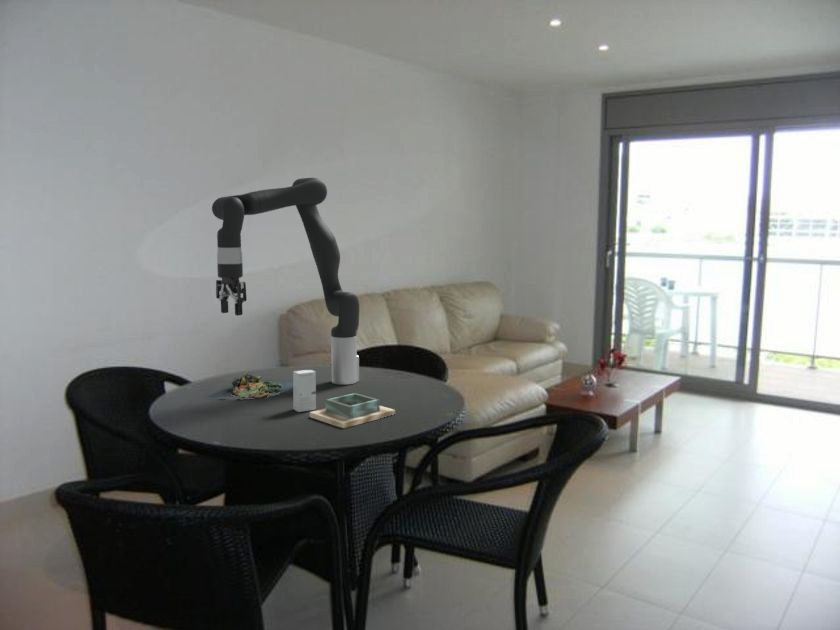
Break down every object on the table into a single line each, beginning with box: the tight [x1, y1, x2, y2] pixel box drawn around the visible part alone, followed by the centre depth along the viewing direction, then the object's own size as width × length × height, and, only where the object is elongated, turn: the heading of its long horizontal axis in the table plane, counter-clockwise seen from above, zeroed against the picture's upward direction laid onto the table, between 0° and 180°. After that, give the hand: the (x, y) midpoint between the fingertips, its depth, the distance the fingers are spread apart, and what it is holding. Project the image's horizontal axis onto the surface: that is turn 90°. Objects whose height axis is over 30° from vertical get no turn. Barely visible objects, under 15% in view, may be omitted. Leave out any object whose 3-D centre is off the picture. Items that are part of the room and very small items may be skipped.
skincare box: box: [292, 369, 317, 413], centre depth 206 cm, size 6×4×12 cm
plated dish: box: [207, 371, 293, 399], centre depth 230 cm, size 35×28×7 cm
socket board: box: [309, 392, 396, 429], centre depth 200 cm, size 20×16×5 cm
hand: (231, 314), depth 208 cm, fingers open, 8 cm apart
